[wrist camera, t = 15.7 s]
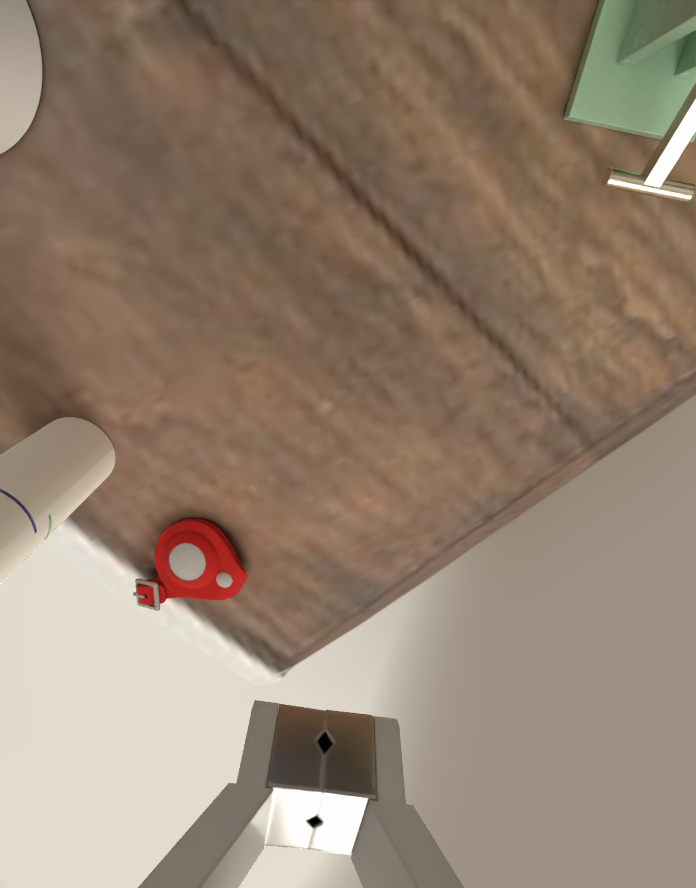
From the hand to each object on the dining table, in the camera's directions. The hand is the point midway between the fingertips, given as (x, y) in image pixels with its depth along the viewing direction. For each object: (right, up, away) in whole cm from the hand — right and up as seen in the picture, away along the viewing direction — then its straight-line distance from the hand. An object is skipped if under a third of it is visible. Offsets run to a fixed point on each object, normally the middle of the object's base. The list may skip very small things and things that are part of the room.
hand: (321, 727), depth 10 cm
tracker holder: (-16, -6, +42) cm, 46 cm away
